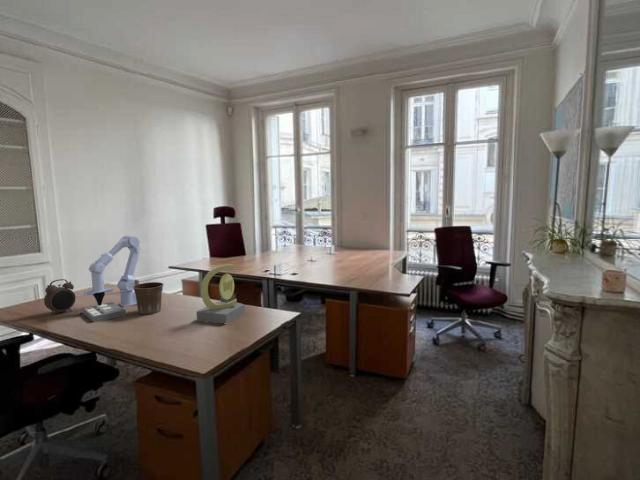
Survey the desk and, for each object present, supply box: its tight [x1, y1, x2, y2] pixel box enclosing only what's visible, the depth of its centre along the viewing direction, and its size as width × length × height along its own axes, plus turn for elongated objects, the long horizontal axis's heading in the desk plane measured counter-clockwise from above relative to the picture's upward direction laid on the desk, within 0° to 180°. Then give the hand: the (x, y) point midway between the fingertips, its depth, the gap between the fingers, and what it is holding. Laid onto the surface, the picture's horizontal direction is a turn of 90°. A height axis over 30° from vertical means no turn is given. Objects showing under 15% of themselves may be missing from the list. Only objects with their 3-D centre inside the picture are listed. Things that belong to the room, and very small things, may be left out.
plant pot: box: [133, 281, 164, 315], centre depth 205 cm, size 16×16×16 cm
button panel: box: [81, 301, 127, 323], centre depth 201 cm, size 16×24×3 cm, turn 47°
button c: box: [102, 307, 112, 313], centre depth 197 cm, size 4×4×3 cm
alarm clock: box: [43, 278, 76, 316], centre depth 204 cm, size 14×7×20 cm, turn 151°
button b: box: [99, 303, 108, 311], centre depth 201 cm, size 4×4×3 cm
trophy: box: [196, 264, 246, 324], centre depth 192 cm, size 19×19×30 cm
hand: (99, 305), depth 206 cm, fingers closed, pressing on button a
